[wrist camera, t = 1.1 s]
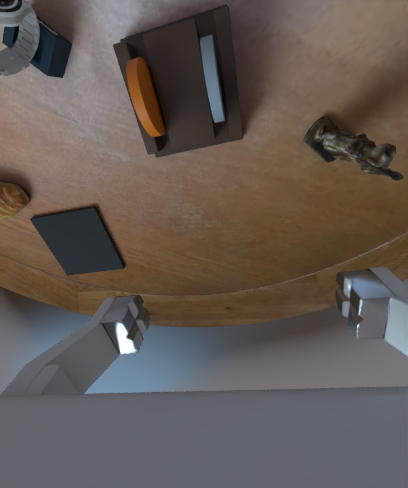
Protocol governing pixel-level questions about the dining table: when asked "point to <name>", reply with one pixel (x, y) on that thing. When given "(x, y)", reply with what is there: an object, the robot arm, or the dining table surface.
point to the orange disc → (145, 97)
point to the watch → (30, 41)
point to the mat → (79, 241)
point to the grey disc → (212, 78)
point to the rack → (187, 81)
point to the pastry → (11, 199)
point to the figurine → (351, 148)
